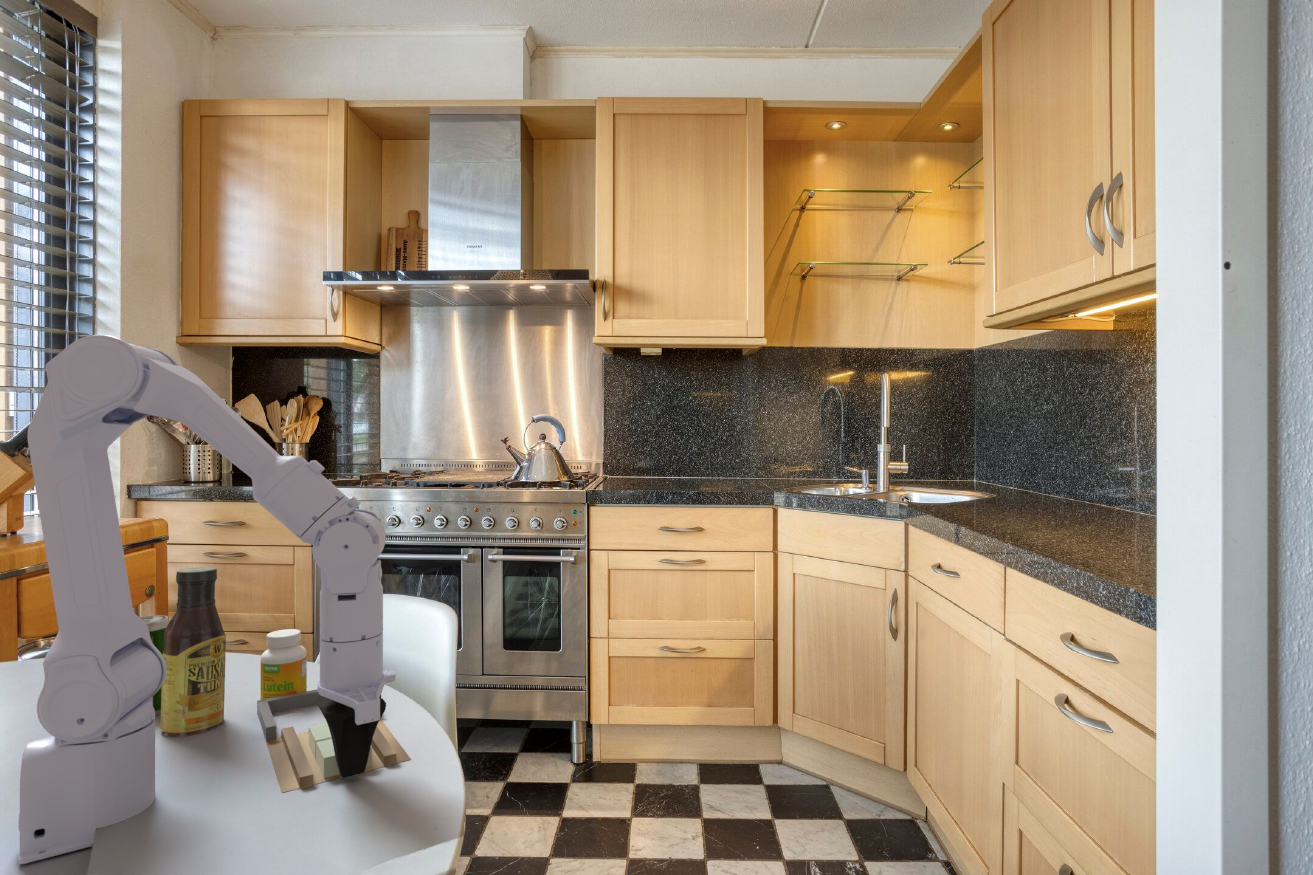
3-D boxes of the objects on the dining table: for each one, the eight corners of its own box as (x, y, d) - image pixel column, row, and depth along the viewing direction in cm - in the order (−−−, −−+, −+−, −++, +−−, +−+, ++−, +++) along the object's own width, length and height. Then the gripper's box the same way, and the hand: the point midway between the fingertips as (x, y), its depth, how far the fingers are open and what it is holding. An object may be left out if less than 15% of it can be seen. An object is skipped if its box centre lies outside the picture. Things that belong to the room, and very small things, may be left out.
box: (266, 754, 78) (266, 727, 78) (257, 724, 86) (257, 700, 86) (378, 728, 85) (378, 704, 85) (360, 703, 93) (360, 681, 93)
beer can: (172, 713, 90) (172, 620, 90) (119, 724, 86) (119, 627, 86) (168, 701, 94) (168, 612, 94) (118, 711, 90) (118, 619, 91)
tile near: (323, 778, 69) (323, 758, 69) (316, 761, 73) (316, 742, 73) (371, 766, 72) (371, 746, 72) (362, 750, 75) (362, 731, 75)
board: (282, 808, 66) (282, 781, 66) (266, 754, 78) (265, 732, 78) (411, 773, 73) (411, 749, 73) (378, 728, 85) (378, 708, 85)
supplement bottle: (255, 716, 89) (255, 639, 89) (266, 701, 94) (266, 629, 94) (301, 711, 90) (301, 636, 90) (310, 697, 95) (310, 626, 95)
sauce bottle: (192, 752, 78) (192, 575, 79) (146, 747, 80) (146, 573, 80) (238, 728, 85) (238, 565, 85) (195, 725, 86) (195, 563, 86)
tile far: (315, 759, 73) (315, 740, 73) (308, 744, 77) (308, 726, 77) (361, 748, 76) (361, 730, 76) (352, 734, 79) (352, 716, 79)
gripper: (413, 645, 65) (414, 791, 65) (377, 614, 77) (377, 737, 77) (331, 658, 61) (331, 814, 61) (306, 623, 73) (306, 753, 73)
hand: (352, 772), depth 69 cm, fingers closed
